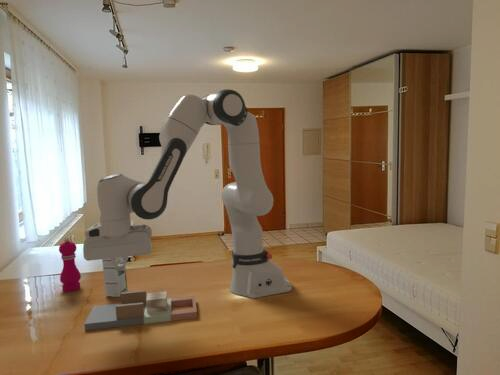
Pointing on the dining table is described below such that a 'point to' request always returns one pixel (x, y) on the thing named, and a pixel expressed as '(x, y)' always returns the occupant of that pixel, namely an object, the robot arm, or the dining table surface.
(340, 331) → the dining table surface
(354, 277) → the dining table surface
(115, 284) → the syrup box
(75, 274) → the pepper mill
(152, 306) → the birch block
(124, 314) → the board
